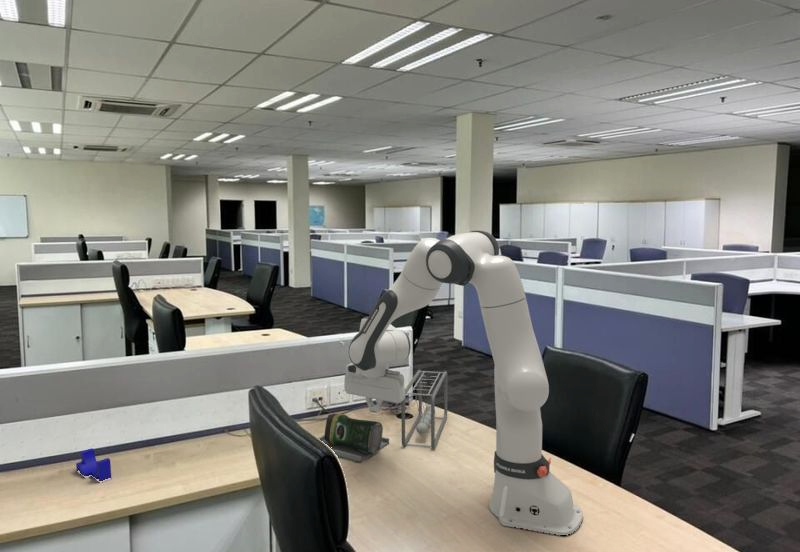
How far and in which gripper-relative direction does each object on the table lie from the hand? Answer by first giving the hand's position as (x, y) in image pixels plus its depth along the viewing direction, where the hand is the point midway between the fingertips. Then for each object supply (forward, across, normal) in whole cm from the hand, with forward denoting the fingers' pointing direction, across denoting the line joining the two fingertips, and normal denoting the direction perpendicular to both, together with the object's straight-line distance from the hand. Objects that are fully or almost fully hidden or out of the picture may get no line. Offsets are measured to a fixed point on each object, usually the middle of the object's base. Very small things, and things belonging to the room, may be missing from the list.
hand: (374, 411), depth 175 cm
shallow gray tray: (+13, +10, 0) cm, 17 cm away
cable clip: (+14, +61, +52) cm, 82 cm away
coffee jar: (+8, -2, +1) cm, 8 cm away
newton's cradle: (+14, -6, -23) cm, 27 cm away
